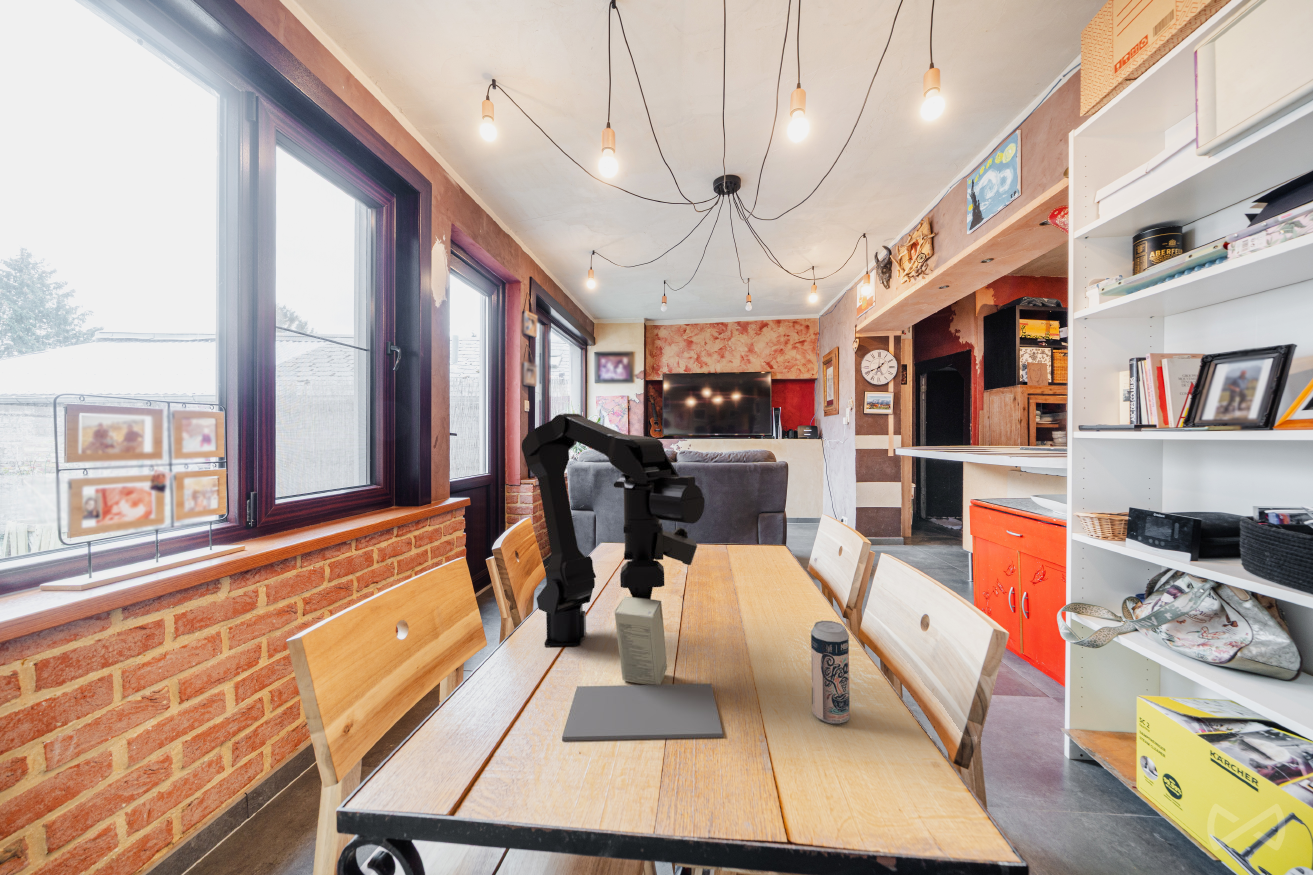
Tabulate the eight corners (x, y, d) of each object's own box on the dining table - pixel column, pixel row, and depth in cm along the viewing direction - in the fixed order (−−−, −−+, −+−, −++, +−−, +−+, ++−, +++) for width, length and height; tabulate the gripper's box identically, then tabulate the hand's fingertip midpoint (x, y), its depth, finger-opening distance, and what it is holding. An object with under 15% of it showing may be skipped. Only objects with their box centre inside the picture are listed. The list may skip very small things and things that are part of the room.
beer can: (832, 730, 61) (830, 636, 61) (804, 711, 65) (803, 623, 65) (858, 720, 63) (857, 628, 63) (829, 702, 68) (828, 616, 67)
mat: (562, 740, 60) (562, 736, 60) (577, 689, 72) (577, 686, 72) (722, 737, 60) (722, 733, 60) (711, 686, 72) (711, 683, 72)
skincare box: (667, 667, 76) (664, 600, 73) (659, 688, 72) (655, 617, 69) (629, 660, 78) (624, 594, 75) (619, 680, 74) (613, 611, 71)
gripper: (699, 526, 67) (701, 638, 67) (688, 507, 86) (689, 594, 86) (619, 528, 67) (621, 640, 67) (625, 508, 86) (627, 596, 86)
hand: (644, 615), depth 77 cm, fingers closed
